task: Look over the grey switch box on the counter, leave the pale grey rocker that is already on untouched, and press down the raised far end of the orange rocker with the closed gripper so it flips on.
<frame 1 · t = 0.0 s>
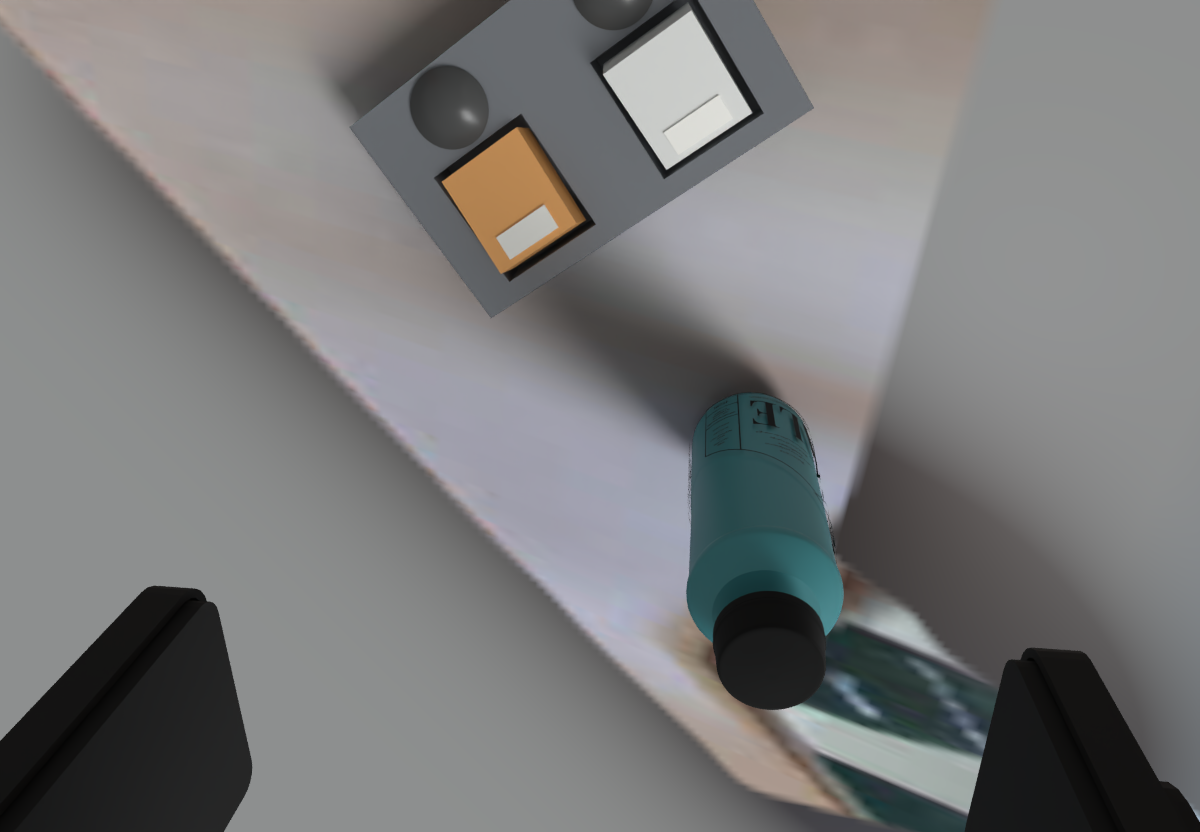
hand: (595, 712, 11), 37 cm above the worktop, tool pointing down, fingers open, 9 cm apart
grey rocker: (677, 88, 39), point 4 cm above the worktop, hinge at 10.0°
grey switch box: (584, 108, 44), on the worktop
beverage bottle: (749, 427, 50), on the worktop
orange rocker: (514, 201, 42), point 4 cm above the worktop, hinge at -10.0°
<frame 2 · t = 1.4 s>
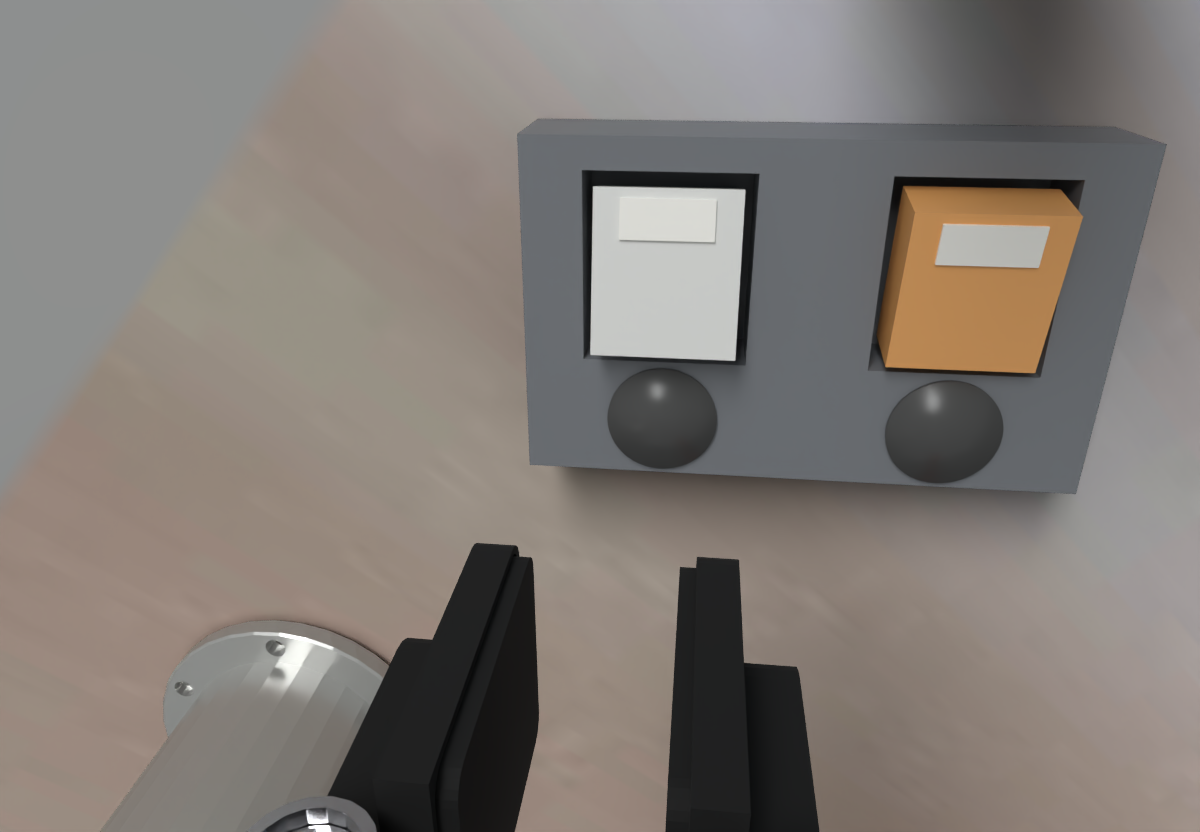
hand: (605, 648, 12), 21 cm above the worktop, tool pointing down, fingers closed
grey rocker: (666, 271, 28), point 4 cm above the worktop, hinge at 10.0°
grey switch box: (800, 289, 31), on the worktop
orange rocker: (970, 281, 27), point 4 cm above the worktop, hinge at -10.0°
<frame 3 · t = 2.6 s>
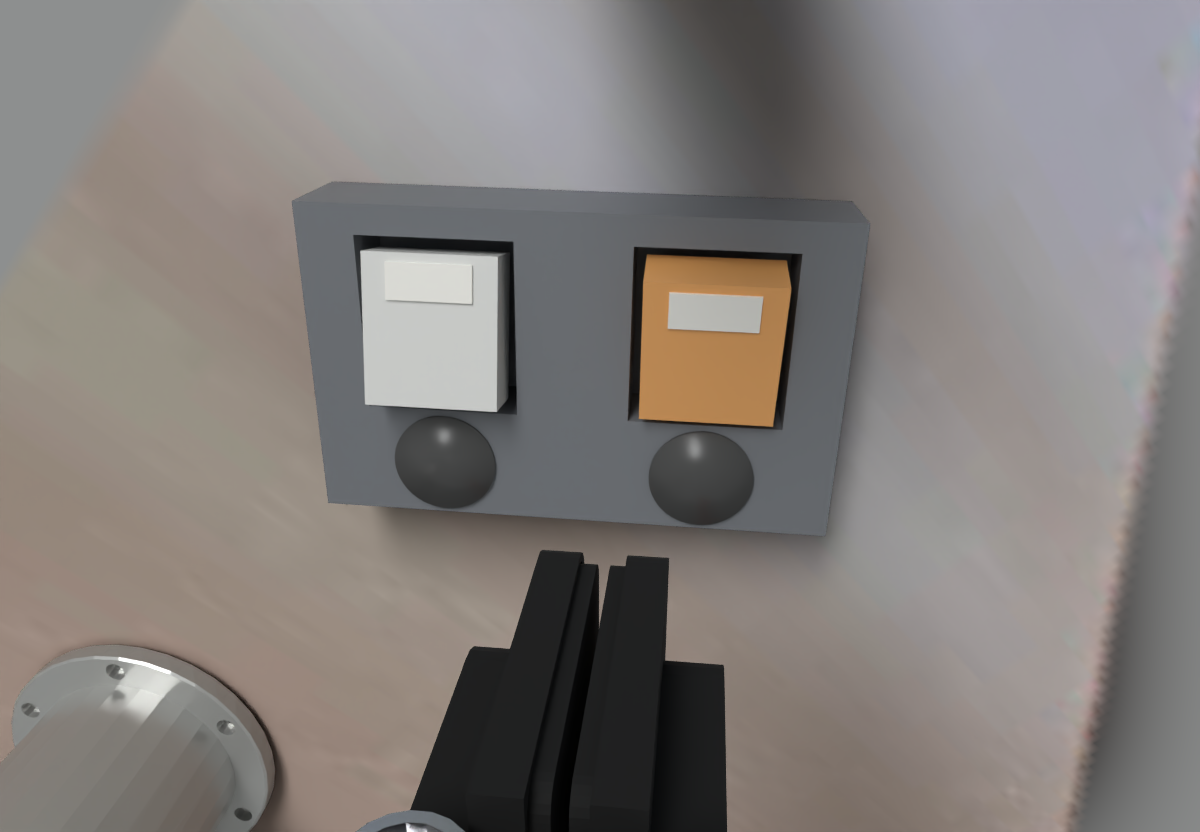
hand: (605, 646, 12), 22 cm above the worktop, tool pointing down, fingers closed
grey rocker: (437, 328, 30), point 4 cm above the worktop, hinge at 10.0°
grey switch box: (584, 342, 33), on the worktop
orange rocker: (710, 342, 29), point 4 cm above the worktop, hinge at -10.0°
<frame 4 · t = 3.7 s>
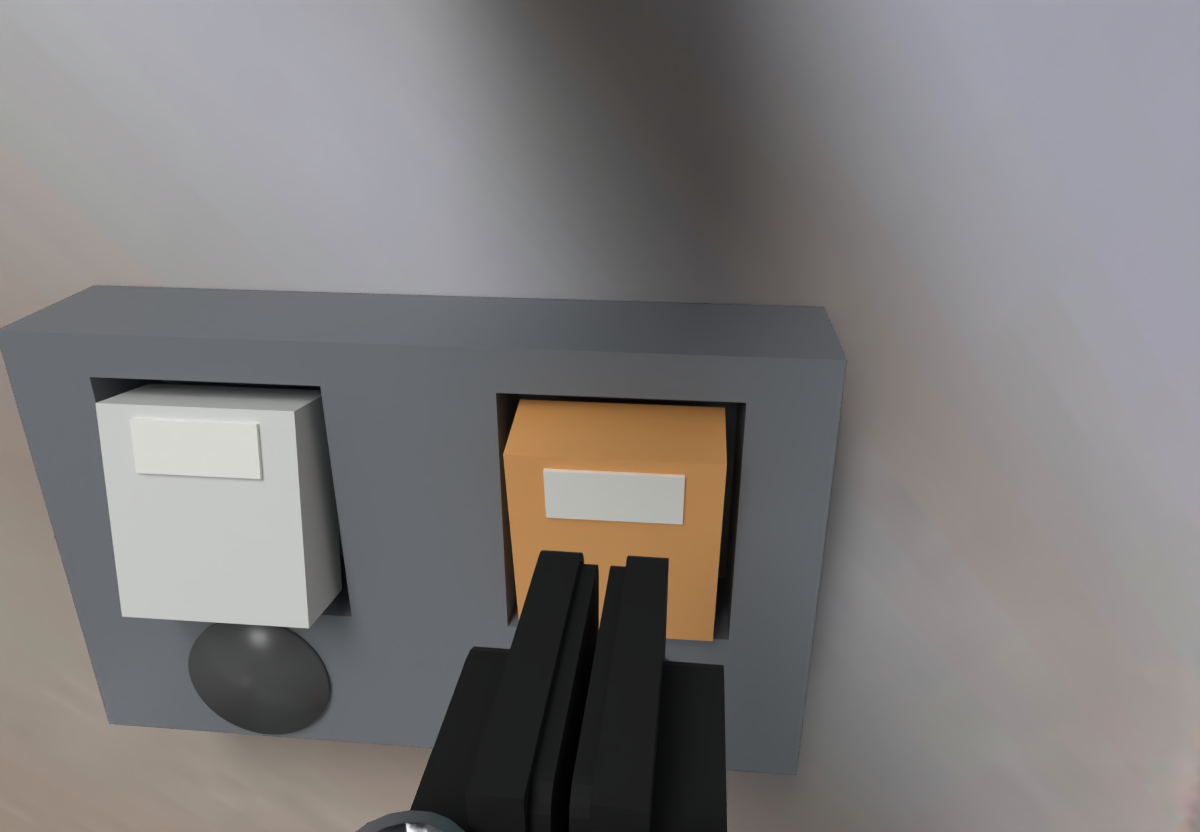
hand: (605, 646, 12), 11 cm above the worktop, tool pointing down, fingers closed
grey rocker: (226, 503, 21), point 4 cm above the worktop, hinge at 10.0°
grey switch box: (459, 494, 24), on the worktop
orange rocker: (618, 524, 20), point 4 cm above the worktop, hinge at -10.0°
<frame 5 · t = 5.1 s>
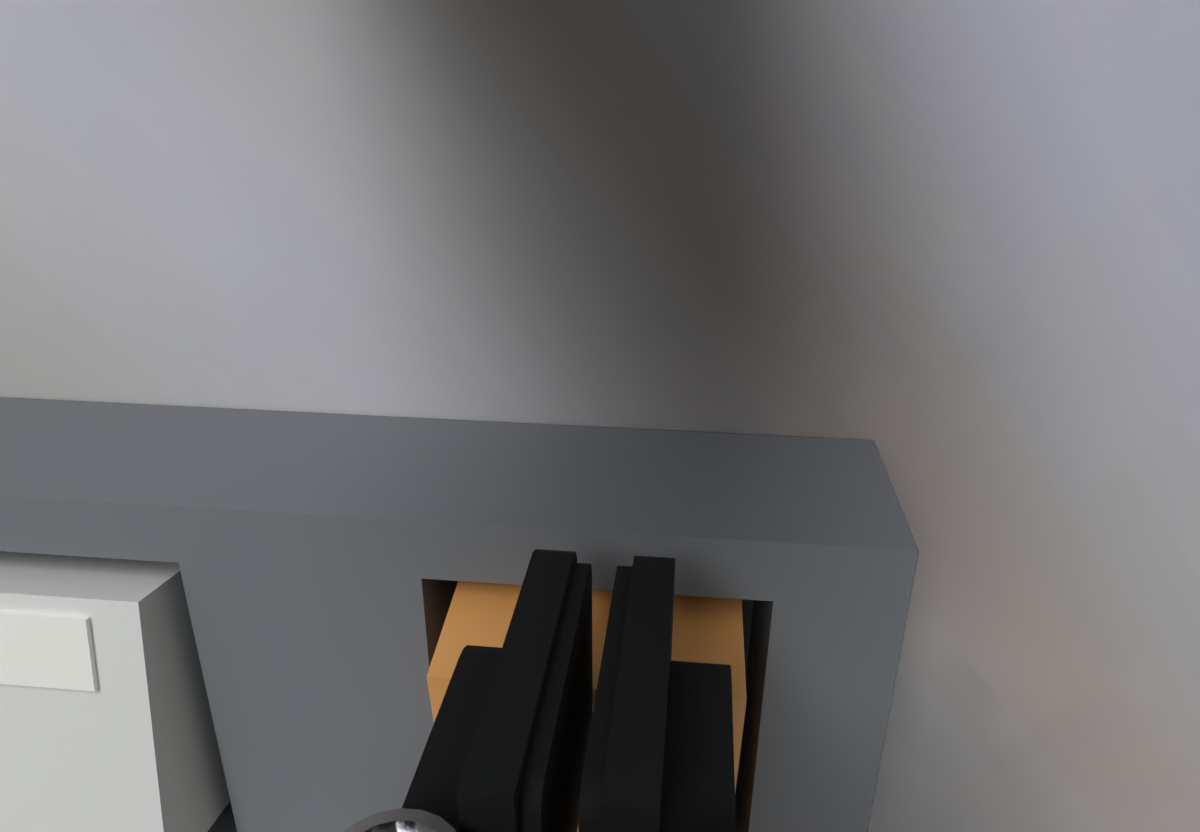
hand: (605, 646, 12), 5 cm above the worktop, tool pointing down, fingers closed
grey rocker: (62, 704, 15), point 4 cm above the worktop, hinge at 10.0°
grey switch box: (394, 657, 19), on the worktop
orange rocker: (592, 747, 14), point 4 cm above the worktop, hinge at -8.1°, touching gripper
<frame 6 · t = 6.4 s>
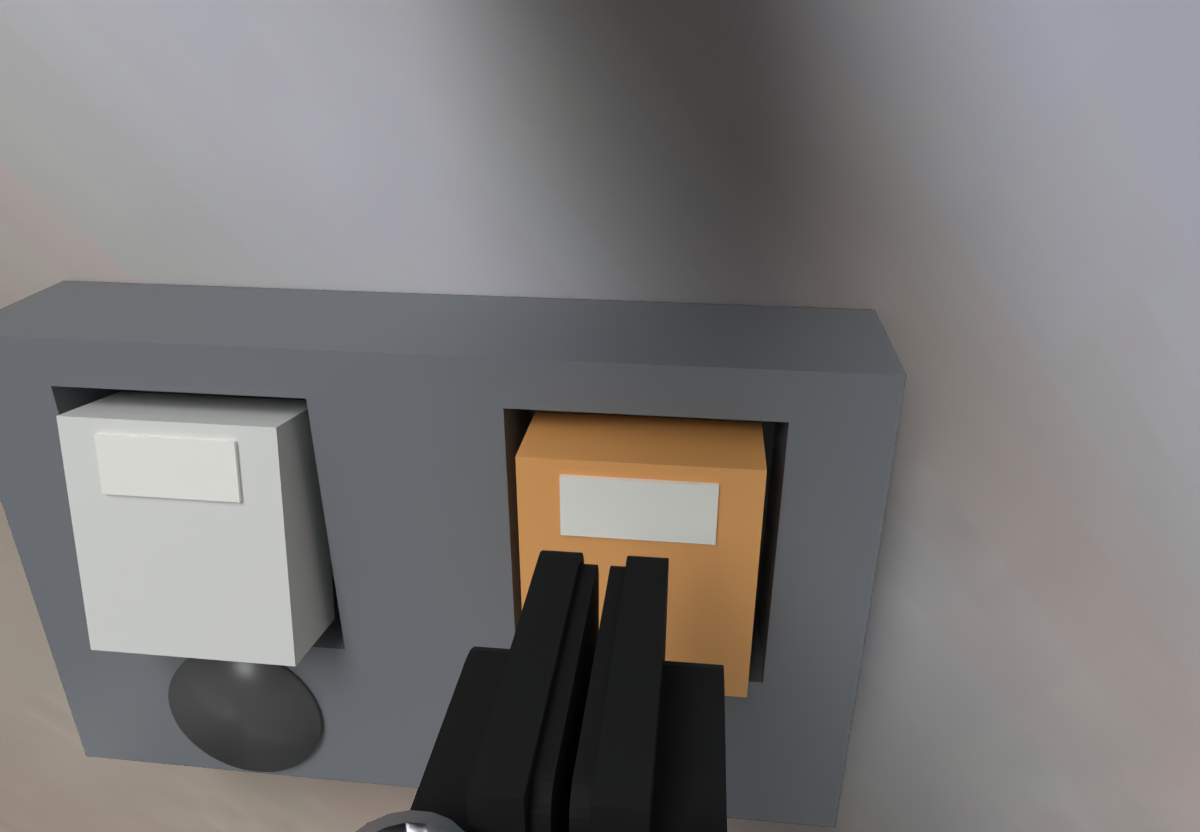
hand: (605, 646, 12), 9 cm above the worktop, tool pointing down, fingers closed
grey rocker: (204, 525, 19), point 4 cm above the worktop, hinge at 10.0°
grey switch box: (465, 511, 22), on the worktop
orange rocker: (640, 554, 18), point 4 cm above the worktop, hinge at 1.0°
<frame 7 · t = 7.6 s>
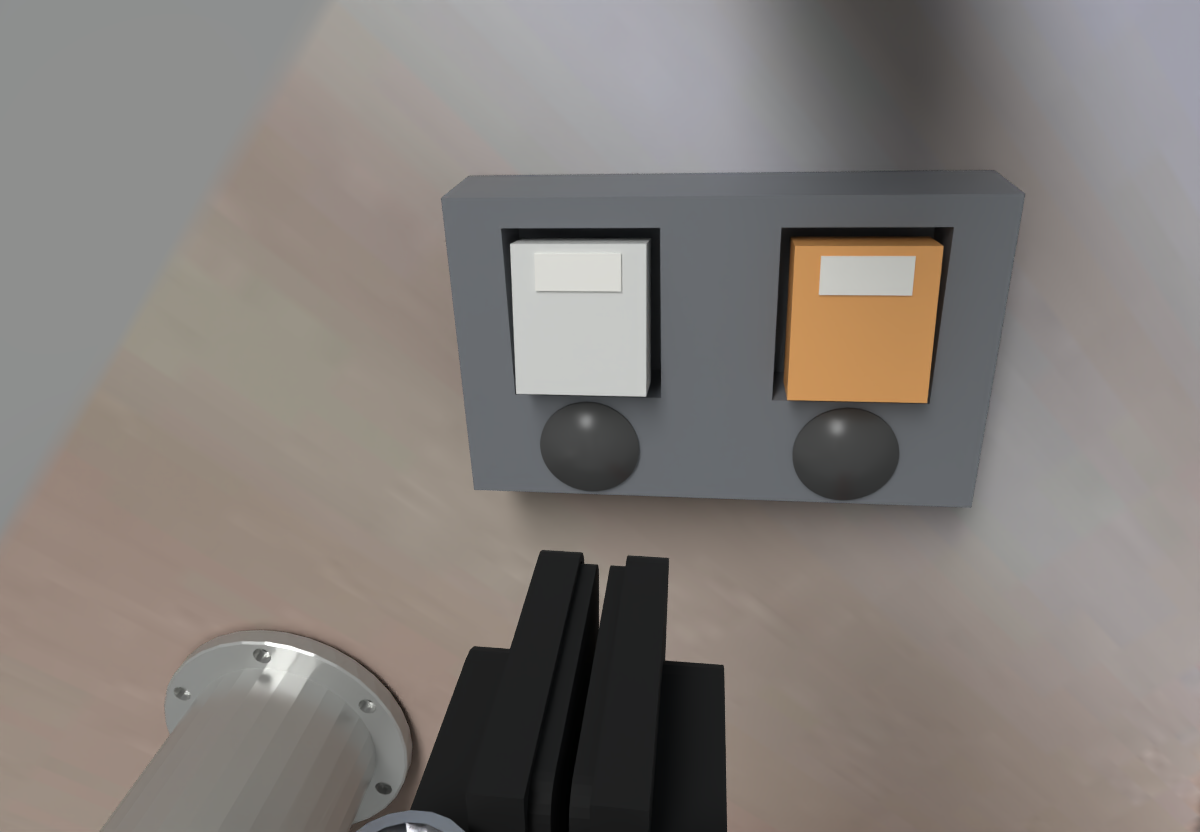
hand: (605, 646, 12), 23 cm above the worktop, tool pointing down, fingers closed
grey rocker: (583, 316, 30), point 4 cm above the worktop, hinge at 10.0°
grey switch box: (718, 322, 34), on the worktop
orange rocker: (858, 319, 29), point 4 cm above the worktop, hinge at 6.9°
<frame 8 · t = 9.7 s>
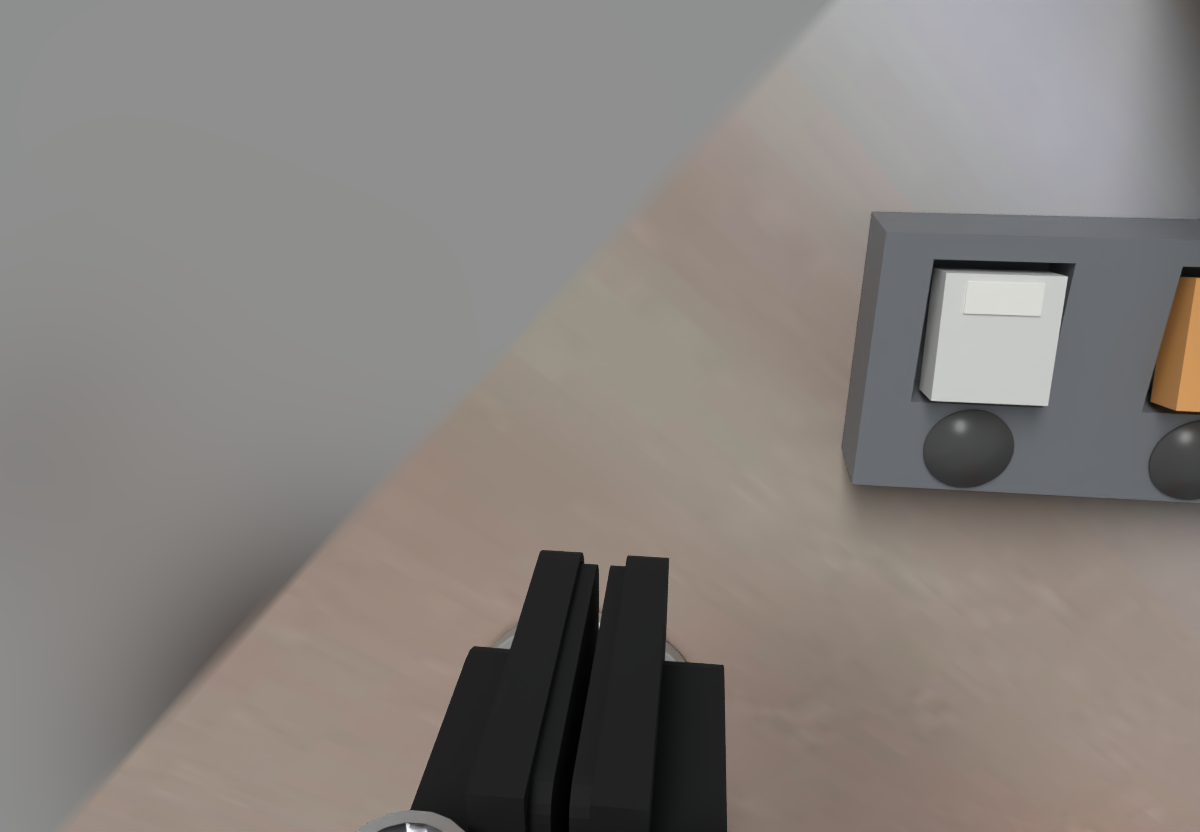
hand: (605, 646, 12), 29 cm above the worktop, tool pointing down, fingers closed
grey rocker: (990, 335, 35), point 4 cm above the worktop, hinge at 10.0°
grey switch box: (1069, 344, 39), on the worktop
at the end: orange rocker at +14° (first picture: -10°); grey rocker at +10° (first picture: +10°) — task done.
